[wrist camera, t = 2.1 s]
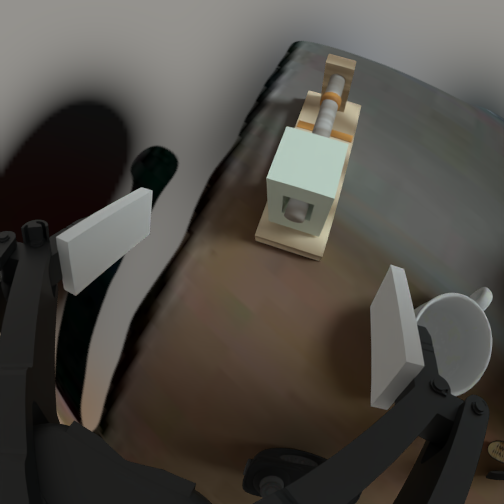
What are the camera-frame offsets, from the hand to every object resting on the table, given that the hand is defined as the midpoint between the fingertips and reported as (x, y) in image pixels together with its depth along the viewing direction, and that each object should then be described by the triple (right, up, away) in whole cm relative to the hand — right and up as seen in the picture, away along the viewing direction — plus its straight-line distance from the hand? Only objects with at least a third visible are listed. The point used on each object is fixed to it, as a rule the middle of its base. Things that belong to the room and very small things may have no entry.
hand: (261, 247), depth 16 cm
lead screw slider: (+8, +11, +24) cm, 28 cm away
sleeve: (+5, +5, +20) cm, 22 cm away
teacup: (+22, -11, +17) cm, 30 cm away
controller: (+5, -25, +14) cm, 29 cm away
